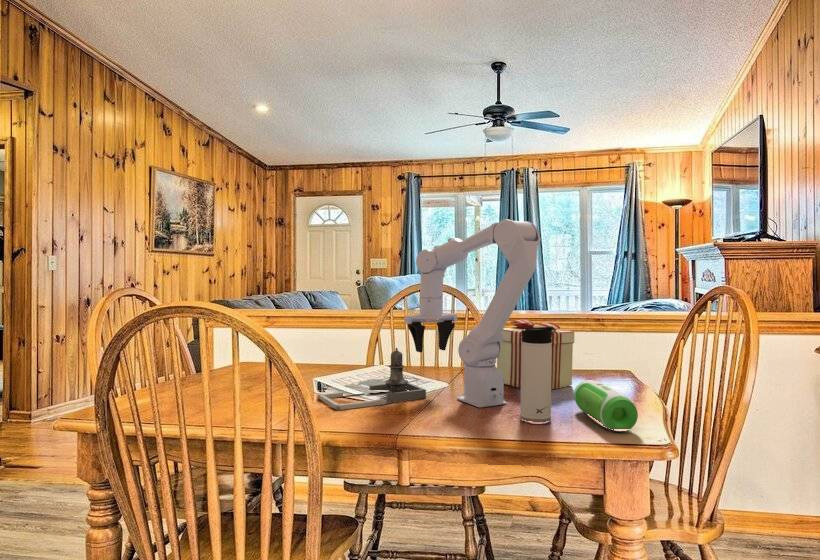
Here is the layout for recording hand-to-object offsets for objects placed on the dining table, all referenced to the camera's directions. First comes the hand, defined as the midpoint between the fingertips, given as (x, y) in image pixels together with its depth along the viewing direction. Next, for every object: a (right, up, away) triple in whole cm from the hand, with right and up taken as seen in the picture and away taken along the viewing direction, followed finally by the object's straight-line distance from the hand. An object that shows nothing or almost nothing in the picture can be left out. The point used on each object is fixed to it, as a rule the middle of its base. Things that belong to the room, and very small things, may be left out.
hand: (430, 350), depth 147 cm
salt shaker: (-9, -11, -5) cm, 15 cm away
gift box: (+29, -11, +10) cm, 32 cm away
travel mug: (+21, -12, -26) cm, 35 cm away
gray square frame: (-19, -11, -10) cm, 24 cm away
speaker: (+35, -12, -26) cm, 45 cm away
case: (-9, -11, -5) cm, 14 cm away
